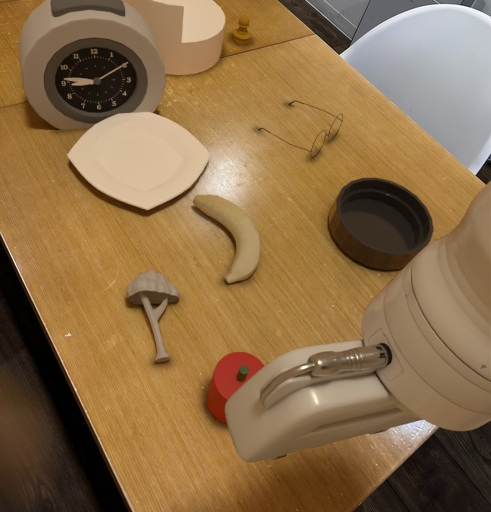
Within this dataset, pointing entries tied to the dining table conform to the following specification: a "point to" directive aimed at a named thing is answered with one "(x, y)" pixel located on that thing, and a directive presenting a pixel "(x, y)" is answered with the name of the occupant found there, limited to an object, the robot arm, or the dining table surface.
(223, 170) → the dining table surface
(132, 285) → the mushroom
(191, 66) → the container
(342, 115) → the eyeglasses
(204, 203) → the fruit
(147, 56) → the alarm clock
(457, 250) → the robot arm
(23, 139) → the dining table surface
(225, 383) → the pepper
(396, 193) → the pan
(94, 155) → the plate
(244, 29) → the chess piece
